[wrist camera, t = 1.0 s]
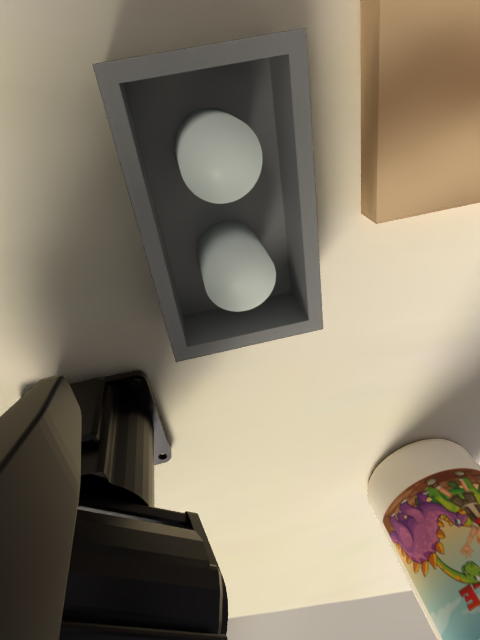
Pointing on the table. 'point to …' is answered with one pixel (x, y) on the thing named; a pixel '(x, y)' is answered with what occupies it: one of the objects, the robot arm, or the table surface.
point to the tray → (184, 214)
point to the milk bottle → (434, 530)
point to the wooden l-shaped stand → (419, 106)
